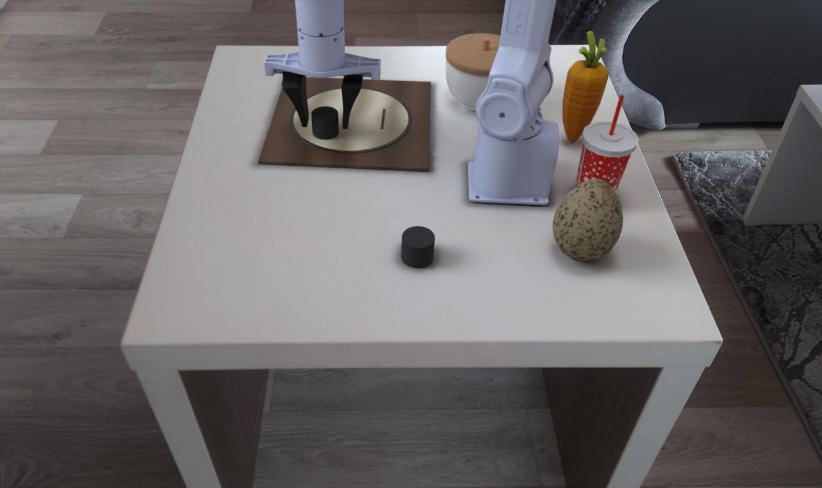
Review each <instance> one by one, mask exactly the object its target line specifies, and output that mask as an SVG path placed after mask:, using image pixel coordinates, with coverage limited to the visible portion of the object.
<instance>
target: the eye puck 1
mask: <svg viewBox="0 0 822 488" xmlns="http://www.w3.org/2000/svg"><path fill="white" fill-rule="evenodd" d="M311 119H312V134H313V136H314V137H316V138H318V139H322V140H329V139H333V138H335V137H336V136H337V135H338V134H339V118H338V111H337V110H336V109H335V108H333V107H329V106H321V107H317V108H315V109H314V110H313V111H312V112H311Z"/></svg>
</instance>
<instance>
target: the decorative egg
mask: <svg viewBox="0 0 822 488" xmlns="http://www.w3.org/2000/svg"><path fill="white" fill-rule="evenodd" d="M558 203H559V204H558V205H557V207H556V209H555V211H554V213H553V219H552V234H553V239H554V241H555V244H556V245H557V247H558V249H560V251H561V252H562V254H565V255H566V256H567V257H569V258H571V259H573V260H576V261H581V262H589V261H590V262H591V261H596V260H598V259H601V258H603V257H604V256H605V255H607V254H608V253H609V252H611V250H612V249H613V248H614V247H615V246H616V244H617V243H618V241H619V239H620V238H621V234H622V231H623V226H624V212H623V206H622V203H621V201H620V198H619V196H618V194H617V192H616V193H615V191H614V190H613V188H612V187H611V186H610V185H609V184H608V183H607V182H605V181H603V180H601V179H592V180H588V181H585V182H583V183H581V184H579V185H578V186H576V187H575V186H574V187H573V188H572V189H570V190H569V191H568V192H566V194H565V195H564V196H563V197H562V198H561V200H560V201H559V202H558Z"/></svg>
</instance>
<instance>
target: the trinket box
mask: <svg viewBox="0 0 822 488" xmlns="http://www.w3.org/2000/svg"><path fill="white" fill-rule="evenodd" d="M500 36H501V34H500V35H499V34H494V33H485V32H484V33H483V32H478V33H477V32H476V33H467V34H464V35H463V34H462V35H459V36H456V37H455V38H454V39H452V40H451V41H450V42H448V44H447V45H446V47H445V68H444V69H445V79H446V84H447V87H448V89H449V91H450V93H451V95H452V96H453V97H454V98H455V100H457V102H458V104H459V105H460V106H461V107H463V108H465V109H467V110H469V111H473V112H476V104H477V101H478V99H479V97H480V96H481V94H482V93H483V92H484V91H485V89H486V87H487V84H488V79H489V74H490V71H491V68H492V65H493V62H494V59H495V57H496V54H497V51H498V48H499V43H500Z"/></svg>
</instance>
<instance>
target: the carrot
mask: <svg viewBox="0 0 822 488" xmlns="http://www.w3.org/2000/svg"><path fill="white" fill-rule="evenodd" d="M586 39H587V43H588V44H587V45H588V48H587V47H586V46H581V47H580V48H579V49H578V52H579V54H581V55H582V56H583V58H584V59H579V60H576V61H575V62H574V63H573V64H572V65H571V66H570V67H569V68H568V69H567V74H566V78H565V83H564V90H563V96H562V107H561V109H562V110H561V113H562V126H563V130H564V133H565V137H566V138H567V141H568V142H569V143H570V144H575V143H576V142H577V141H578V140H579V139H580V138H582V133H583V131H584V128H585V127H586V126H588V125H589V124H591V123H592V122H593V120H594V118H595V116H596V114H597V112H598V110H599V107H600V105H601V103H602V100H603V99H602V98H603V96H604V94H605V90H606V87H607V83H608V80H609V76H610V72H609V70H608V68H607V67H606V66H605V65H604V64H603V63H602V62H601V61H600V59H601V58H602V57H603V55H604V54H605V53H607V51H608V49H607V48H606V47H605V46H606V40H605V39H604V38H599V41H598V46H596V45H597V44H596V39H595V34H594V31H591V30H589V31H588V32H586ZM596 48H597V49H596Z"/></svg>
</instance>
